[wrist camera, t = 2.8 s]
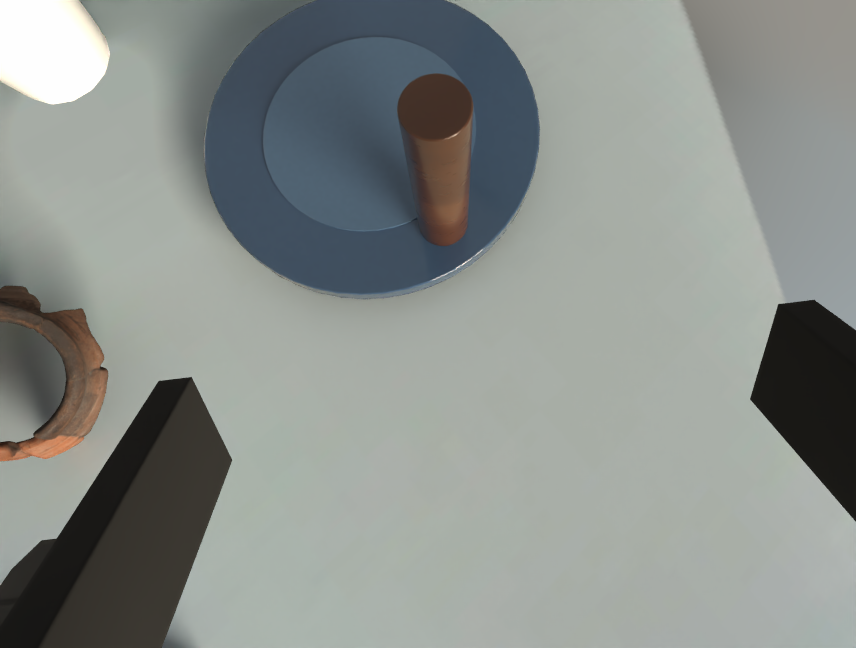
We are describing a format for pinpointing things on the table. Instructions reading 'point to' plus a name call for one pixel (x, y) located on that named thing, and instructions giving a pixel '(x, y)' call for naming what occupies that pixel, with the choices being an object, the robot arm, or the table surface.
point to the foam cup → (50, 49)
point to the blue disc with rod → (372, 145)
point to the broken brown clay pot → (81, 374)
